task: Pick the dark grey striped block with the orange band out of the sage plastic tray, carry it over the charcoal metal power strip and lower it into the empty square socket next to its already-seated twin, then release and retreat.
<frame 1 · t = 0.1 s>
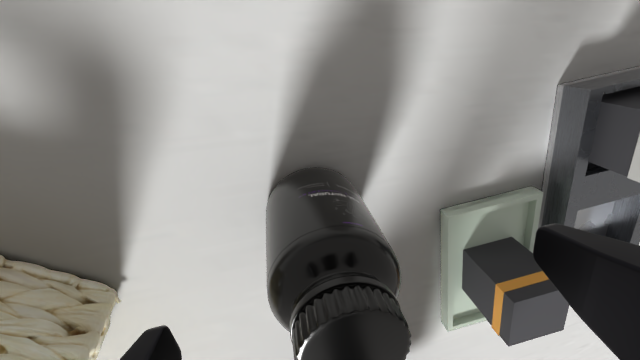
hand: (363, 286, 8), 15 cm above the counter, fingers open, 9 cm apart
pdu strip: (586, 172, 27), on the counter
tray: (482, 259, 29), on the counter
supplement bottle: (311, 206, 24), on the counter
twin plug: (604, 121, 24), resting on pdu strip
dark grey striped block: (486, 263, 28), resting on tray
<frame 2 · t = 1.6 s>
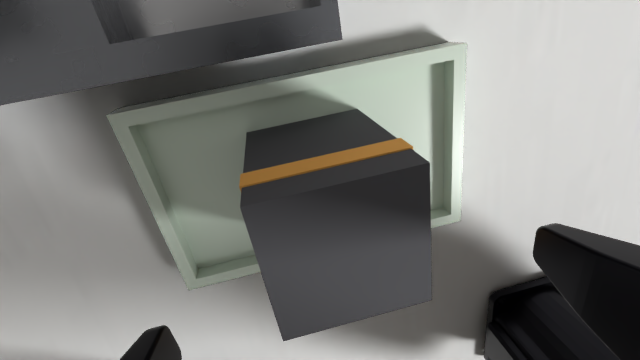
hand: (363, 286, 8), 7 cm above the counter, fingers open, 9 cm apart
tray: (310, 166, 14), on the counter
dark grey striped block: (312, 171, 14), resting on tray
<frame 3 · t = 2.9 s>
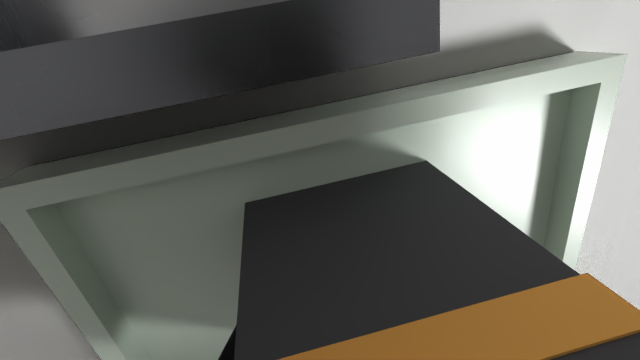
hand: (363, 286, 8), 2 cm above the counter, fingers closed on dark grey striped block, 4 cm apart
tray: (345, 243, 9), on the counter
dark grey striped block: (349, 254, 9), resting on tray, touching gripper
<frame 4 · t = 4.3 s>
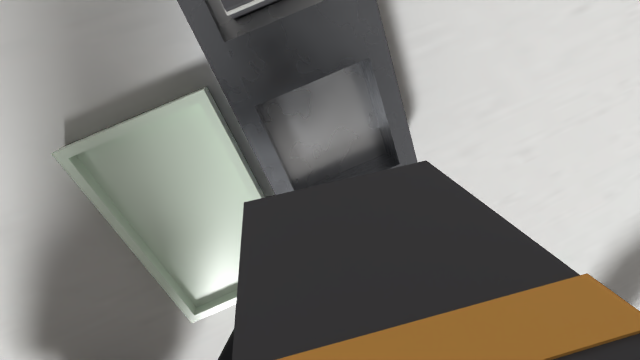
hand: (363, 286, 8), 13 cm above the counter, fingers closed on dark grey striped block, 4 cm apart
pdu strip: (294, 49, 17), on the counter
tray: (199, 213, 20), on the counter
dark grey striped block: (348, 254, 9), point 11 cm above the counter, touching gripper
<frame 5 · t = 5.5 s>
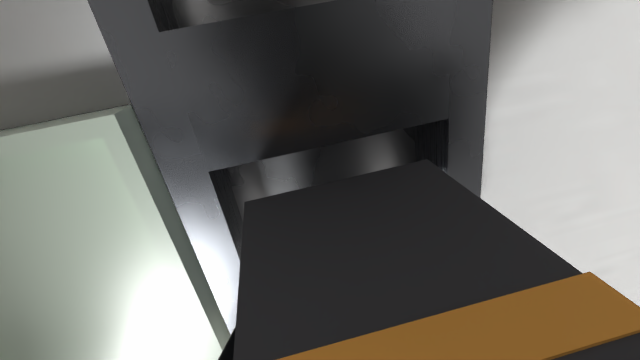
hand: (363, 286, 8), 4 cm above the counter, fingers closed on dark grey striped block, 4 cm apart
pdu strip: (306, 69, 9), on the counter
tray: (93, 308, 11), on the counter
dark grey striped block: (349, 254, 9), point 3 cm above the counter, touching gripper
when the fingers open (3 cm above the counter, at t = 6.1 s): dark grey striped block drops 1 cm, resting on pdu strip.
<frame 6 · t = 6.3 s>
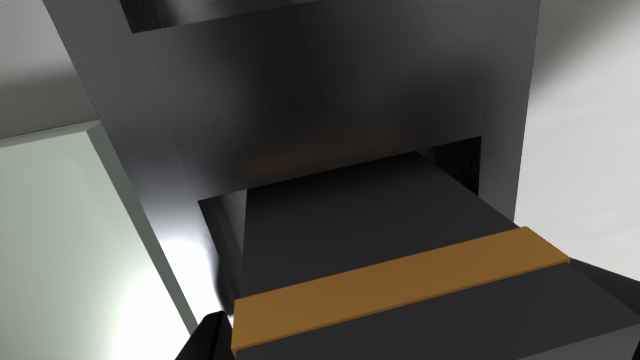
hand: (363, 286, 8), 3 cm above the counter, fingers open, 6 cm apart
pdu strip: (313, 76, 8), on the counter
tray: (72, 342, 10), on the counter
dark grey striped block: (341, 231, 10), resting on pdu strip
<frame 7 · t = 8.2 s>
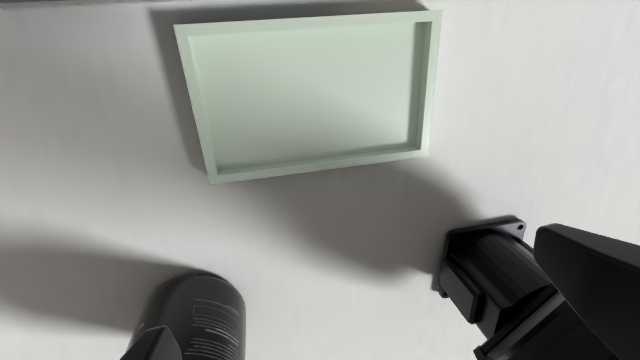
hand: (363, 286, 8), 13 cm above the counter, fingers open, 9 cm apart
tray: (316, 97, 18), on the counter
supplement bottle: (197, 306, 23), on the counter
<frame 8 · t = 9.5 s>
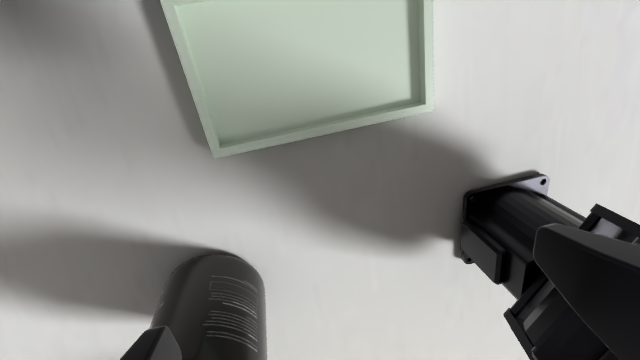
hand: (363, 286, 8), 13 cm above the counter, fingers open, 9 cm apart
tray: (311, 59, 18), on the counter
supplement bottle: (217, 287, 23), on the counter
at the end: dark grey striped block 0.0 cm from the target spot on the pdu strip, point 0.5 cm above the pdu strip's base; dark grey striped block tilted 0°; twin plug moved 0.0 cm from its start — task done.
